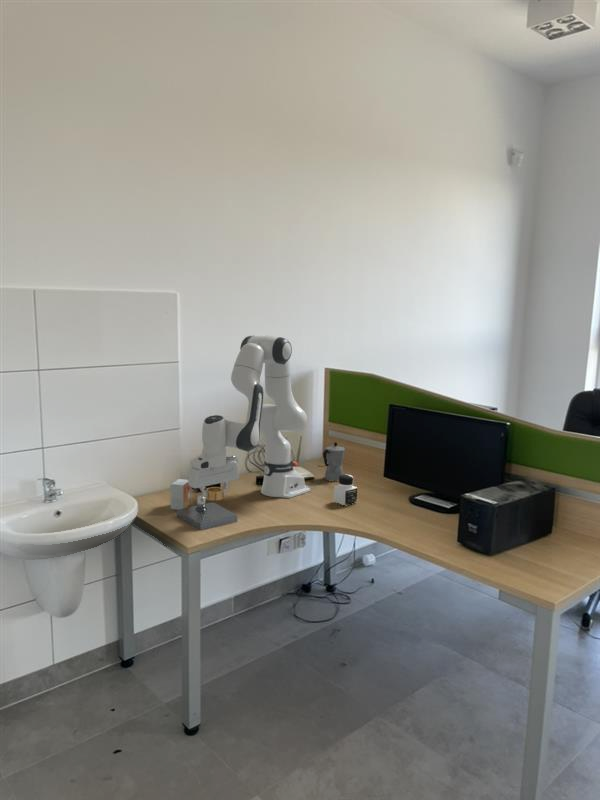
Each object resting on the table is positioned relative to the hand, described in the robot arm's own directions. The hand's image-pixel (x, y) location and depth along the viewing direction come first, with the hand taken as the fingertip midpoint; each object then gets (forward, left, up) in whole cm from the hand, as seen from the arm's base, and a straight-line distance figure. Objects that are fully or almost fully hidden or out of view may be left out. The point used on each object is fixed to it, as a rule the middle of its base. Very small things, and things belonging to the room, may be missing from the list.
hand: (214, 494), depth 229 cm
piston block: (+1, -4, -11) cm, 11 cm away
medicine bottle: (-57, +11, -11) cm, 60 cm away
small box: (+3, -22, -11) cm, 24 cm away
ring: (0, 0, -1) cm, 1 cm away
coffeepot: (-76, -18, -11) cm, 79 cm away
